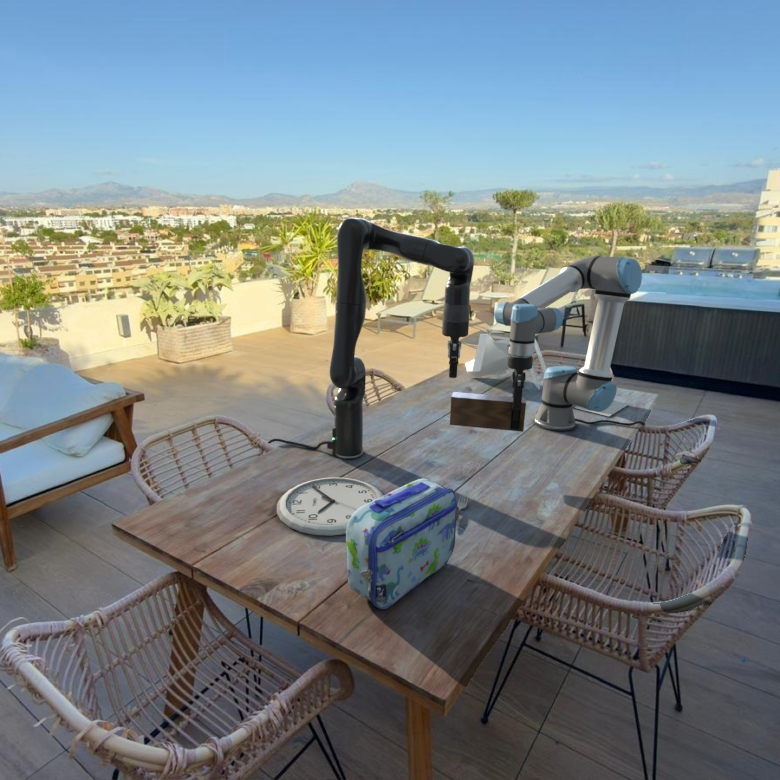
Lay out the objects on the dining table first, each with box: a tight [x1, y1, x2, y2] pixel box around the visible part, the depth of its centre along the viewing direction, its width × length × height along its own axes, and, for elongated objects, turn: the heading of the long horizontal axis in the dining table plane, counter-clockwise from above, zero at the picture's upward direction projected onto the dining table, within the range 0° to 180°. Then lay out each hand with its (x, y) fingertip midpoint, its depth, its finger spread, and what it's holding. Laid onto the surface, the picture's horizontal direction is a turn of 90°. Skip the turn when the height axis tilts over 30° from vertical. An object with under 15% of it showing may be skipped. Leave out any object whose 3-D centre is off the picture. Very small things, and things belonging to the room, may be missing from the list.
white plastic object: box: [464, 333, 548, 391], centre depth 259 cm, size 37×45×31 cm
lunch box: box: [345, 477, 457, 610], centre depth 110 cm, size 26×11×21 cm, turn 134°
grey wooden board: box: [573, 400, 629, 418], centre depth 226 cm, size 21×1×15 cm
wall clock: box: [276, 476, 385, 537], centre depth 142 cm, size 30×2×30 cm
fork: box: [456, 494, 470, 521], centre depth 139 cm, size 3×16×2 cm, turn 160°
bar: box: [449, 391, 527, 433], centre depth 168 cm, size 23×6×10 cm, turn 77°
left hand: (452, 373), depth 154 cm, fingers open, 8 cm apart
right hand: (514, 425), depth 168 cm, fingers closed on bar, 5 cm apart
